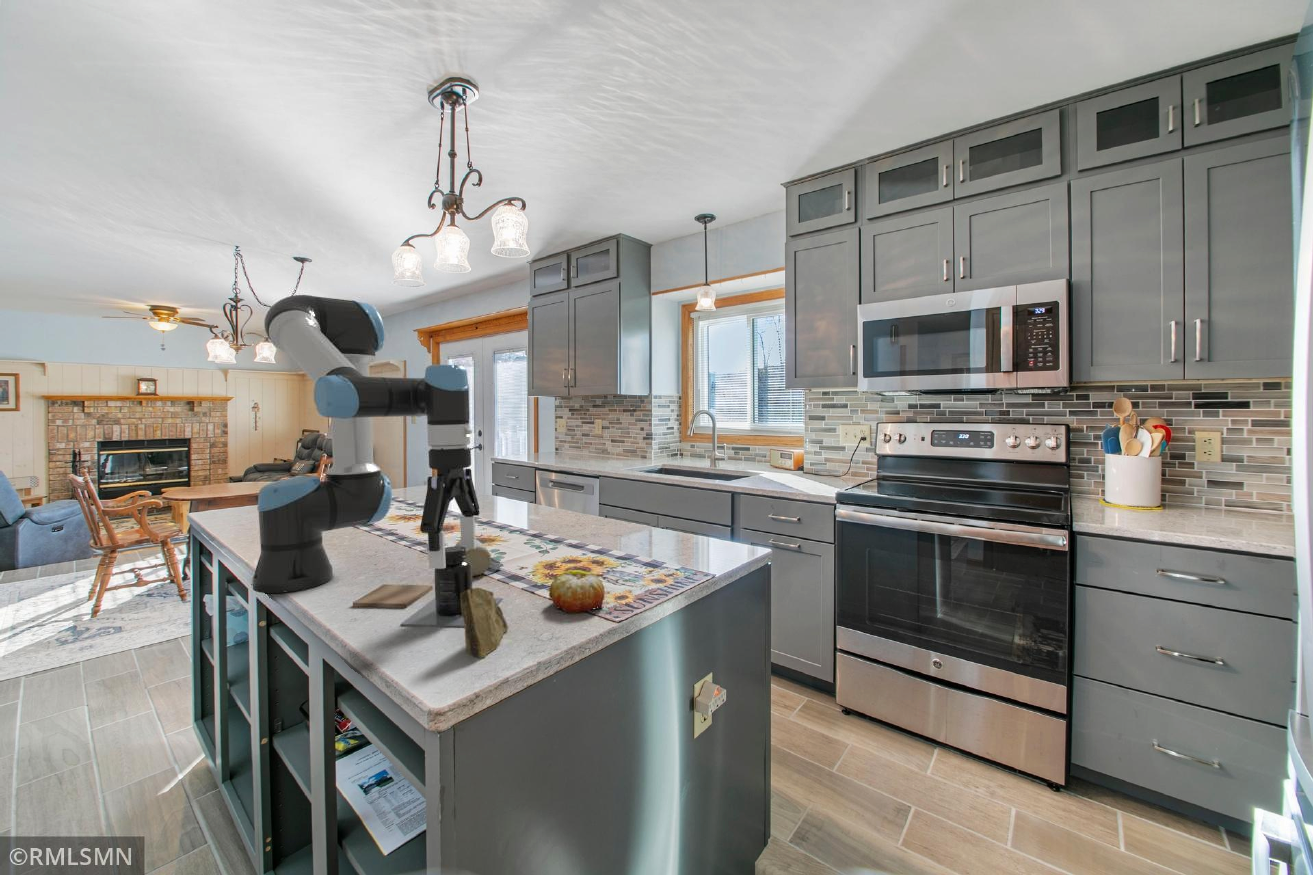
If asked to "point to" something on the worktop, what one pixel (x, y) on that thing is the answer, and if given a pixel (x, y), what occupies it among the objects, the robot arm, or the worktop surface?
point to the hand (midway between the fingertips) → (454, 557)
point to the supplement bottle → (452, 581)
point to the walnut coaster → (393, 596)
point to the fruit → (577, 591)
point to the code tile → (435, 617)
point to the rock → (482, 621)
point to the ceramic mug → (480, 559)
